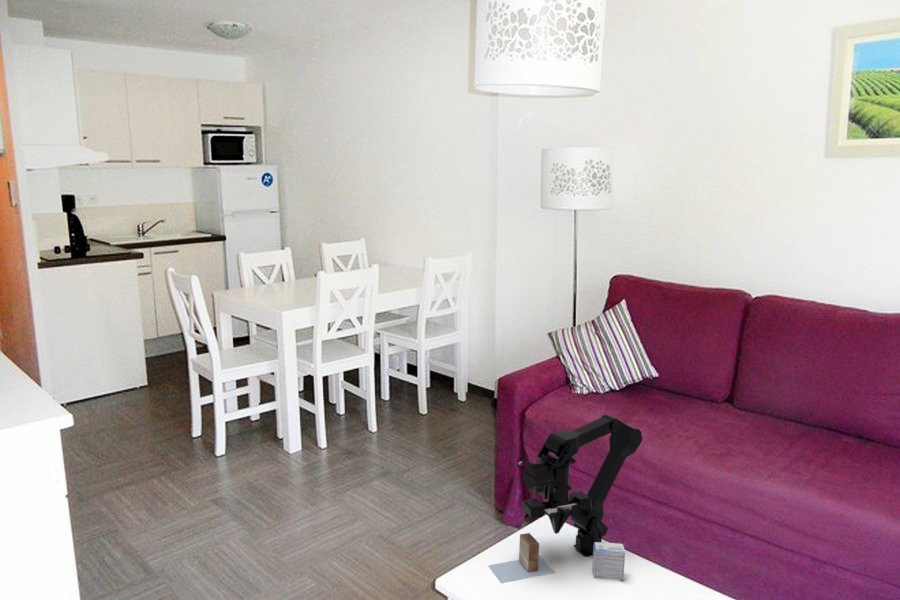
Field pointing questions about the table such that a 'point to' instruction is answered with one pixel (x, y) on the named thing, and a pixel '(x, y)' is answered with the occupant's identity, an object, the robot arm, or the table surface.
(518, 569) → the mat
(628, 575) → the table surface
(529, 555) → the walnut tile
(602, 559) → the medicine box
